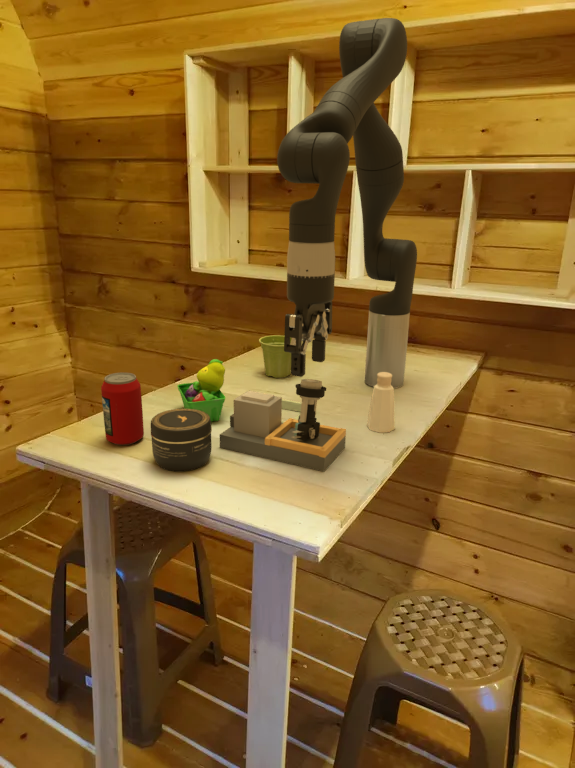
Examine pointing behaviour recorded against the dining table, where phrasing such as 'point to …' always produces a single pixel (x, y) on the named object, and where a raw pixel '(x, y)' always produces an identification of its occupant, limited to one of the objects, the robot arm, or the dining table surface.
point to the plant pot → (275, 356)
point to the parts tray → (291, 406)
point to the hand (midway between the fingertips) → (308, 368)
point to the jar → (181, 439)
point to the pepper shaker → (382, 405)
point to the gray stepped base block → (278, 434)
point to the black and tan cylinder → (308, 408)
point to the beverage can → (122, 408)
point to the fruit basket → (205, 390)
